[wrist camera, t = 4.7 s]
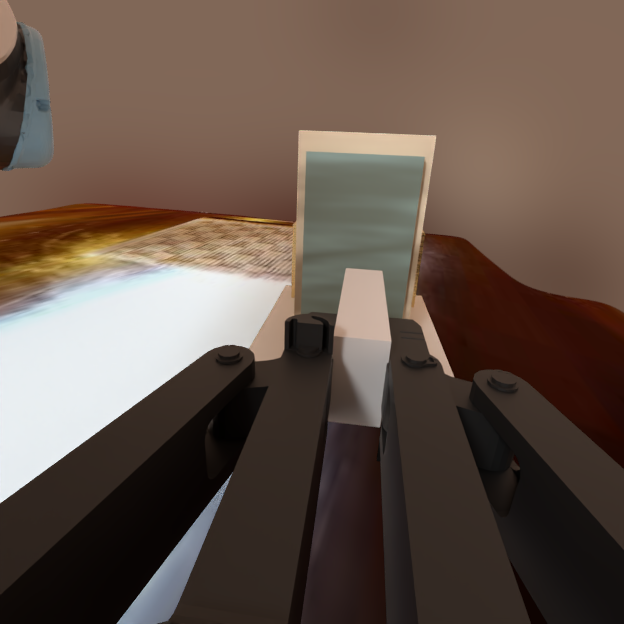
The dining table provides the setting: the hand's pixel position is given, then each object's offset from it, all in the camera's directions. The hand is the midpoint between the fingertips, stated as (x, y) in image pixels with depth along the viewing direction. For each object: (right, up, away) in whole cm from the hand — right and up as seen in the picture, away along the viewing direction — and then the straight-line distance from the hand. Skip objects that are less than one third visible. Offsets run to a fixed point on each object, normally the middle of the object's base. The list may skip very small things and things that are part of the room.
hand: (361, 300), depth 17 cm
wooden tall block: (0, -2, +10) cm, 10 cm away
